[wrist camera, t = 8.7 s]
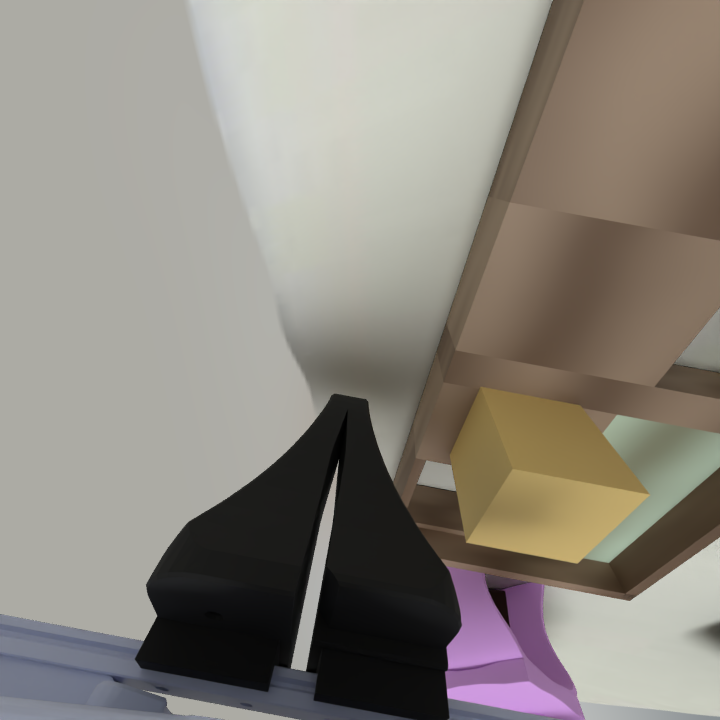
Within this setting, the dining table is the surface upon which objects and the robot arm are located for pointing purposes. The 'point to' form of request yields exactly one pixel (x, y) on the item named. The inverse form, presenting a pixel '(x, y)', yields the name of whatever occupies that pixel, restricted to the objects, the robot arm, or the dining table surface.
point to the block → (539, 477)
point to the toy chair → (507, 653)
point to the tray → (596, 284)
